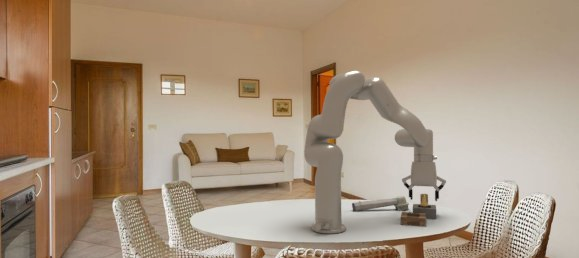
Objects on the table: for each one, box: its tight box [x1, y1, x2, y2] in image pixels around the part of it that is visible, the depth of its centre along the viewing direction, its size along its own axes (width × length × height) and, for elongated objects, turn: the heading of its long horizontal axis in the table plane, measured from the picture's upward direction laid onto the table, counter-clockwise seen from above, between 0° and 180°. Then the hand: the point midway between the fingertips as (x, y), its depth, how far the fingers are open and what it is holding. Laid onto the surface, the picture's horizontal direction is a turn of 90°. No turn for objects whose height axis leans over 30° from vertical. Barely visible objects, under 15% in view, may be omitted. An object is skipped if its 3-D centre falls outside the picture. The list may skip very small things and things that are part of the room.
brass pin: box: [419, 193, 429, 208], centre depth 153 cm, size 3×3×9 cm
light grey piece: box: [351, 195, 409, 212], centre depth 165 cm, size 5×7×25 cm
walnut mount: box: [400, 211, 427, 227], centre depth 142 cm, size 9×9×3 cm
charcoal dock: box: [412, 203, 437, 220], centre depth 153 cm, size 9×9×4 cm
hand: (423, 199), depth 153 cm, fingers open, 9 cm apart
